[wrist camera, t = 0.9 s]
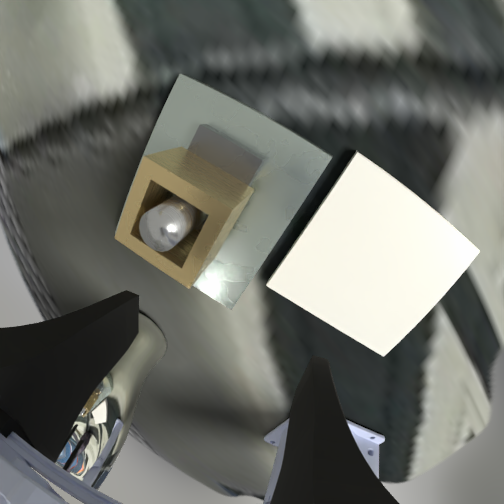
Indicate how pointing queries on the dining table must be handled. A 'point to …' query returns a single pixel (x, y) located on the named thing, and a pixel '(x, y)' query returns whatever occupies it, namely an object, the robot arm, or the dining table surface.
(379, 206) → the board
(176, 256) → the tan hollow boxy piece
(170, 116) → the grey plate with post
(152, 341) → the beer glass
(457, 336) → the dining table surface
